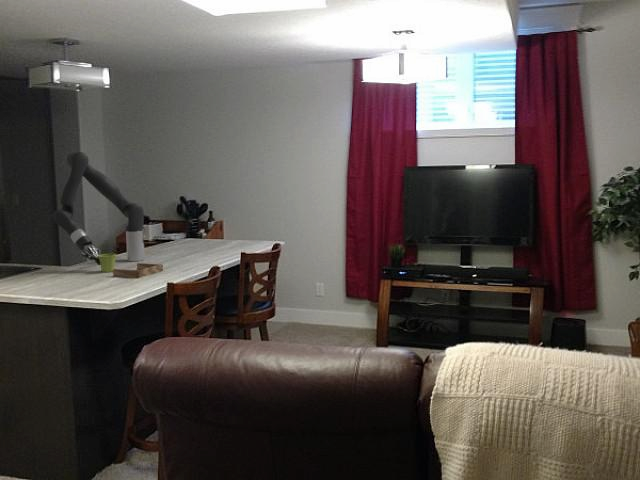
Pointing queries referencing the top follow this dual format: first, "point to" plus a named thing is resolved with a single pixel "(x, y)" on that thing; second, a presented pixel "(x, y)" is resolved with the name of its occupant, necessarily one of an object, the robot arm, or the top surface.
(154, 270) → the wooden u bracket
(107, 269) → the plant pot
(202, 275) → the top surface
